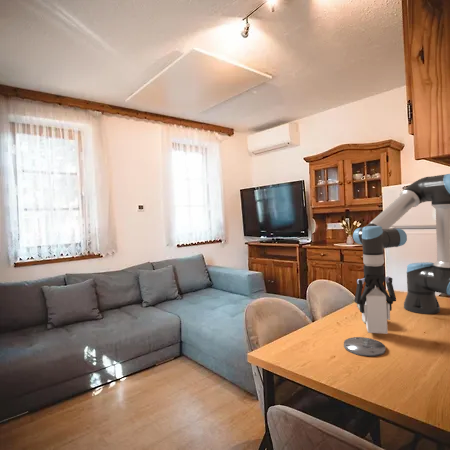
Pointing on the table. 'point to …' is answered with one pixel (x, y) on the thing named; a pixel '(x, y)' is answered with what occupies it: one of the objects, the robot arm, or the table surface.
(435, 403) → the table surface
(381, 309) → the milk carton
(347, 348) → the duct flange
